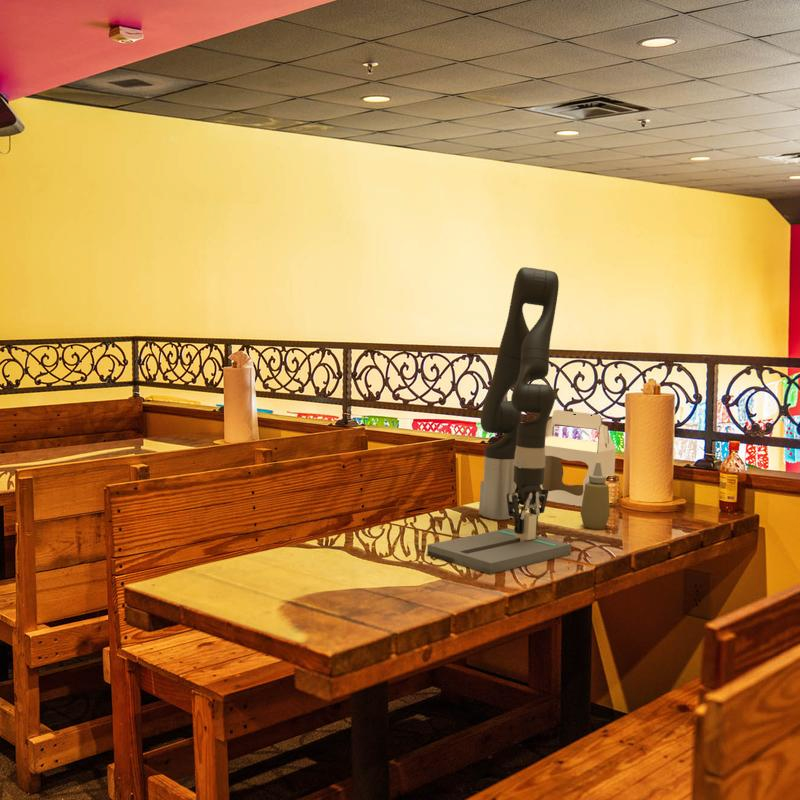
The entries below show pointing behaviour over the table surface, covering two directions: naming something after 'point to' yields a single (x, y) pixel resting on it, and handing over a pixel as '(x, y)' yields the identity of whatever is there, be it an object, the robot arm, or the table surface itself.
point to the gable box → (575, 455)
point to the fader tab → (528, 527)
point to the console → (497, 551)
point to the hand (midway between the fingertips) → (525, 531)
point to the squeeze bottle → (595, 501)
